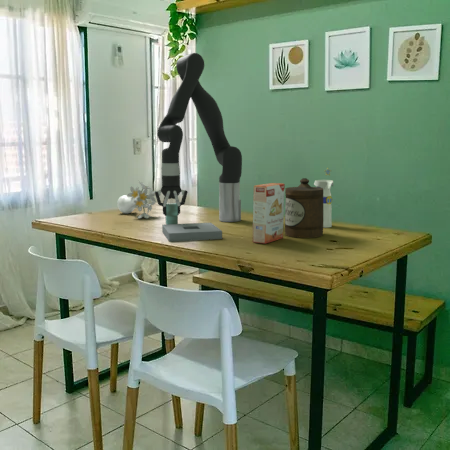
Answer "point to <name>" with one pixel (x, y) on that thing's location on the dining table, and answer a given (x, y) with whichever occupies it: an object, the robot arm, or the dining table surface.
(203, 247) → the dining table surface
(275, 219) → the cracker box
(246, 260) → the dining table surface
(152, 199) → the flower vase
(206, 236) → the pocket plate
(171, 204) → the teal block
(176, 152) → the robot arm
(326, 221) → the white spray bottle
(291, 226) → the wooden container
